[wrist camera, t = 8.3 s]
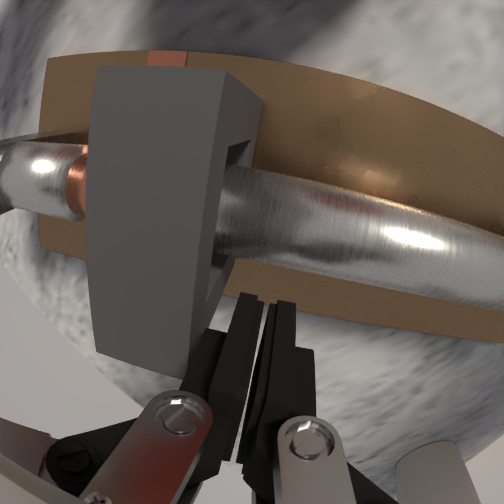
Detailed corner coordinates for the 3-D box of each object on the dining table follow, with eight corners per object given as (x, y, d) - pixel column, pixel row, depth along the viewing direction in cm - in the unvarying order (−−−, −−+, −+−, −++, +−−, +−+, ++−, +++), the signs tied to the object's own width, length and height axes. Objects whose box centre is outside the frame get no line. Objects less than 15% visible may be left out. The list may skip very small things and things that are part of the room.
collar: (263, 100, 13) (226, 70, 6) (233, 266, 16) (186, 380, 9) (197, 91, 13) (97, 66, 6) (176, 253, 16) (96, 351, 9)
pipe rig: (563, 176, 12) (633, 205, 6) (501, 338, 17) (542, 401, 11) (54, 59, 14) (-29, 52, 8) (45, 243, 18) (-22, 288, 12)
